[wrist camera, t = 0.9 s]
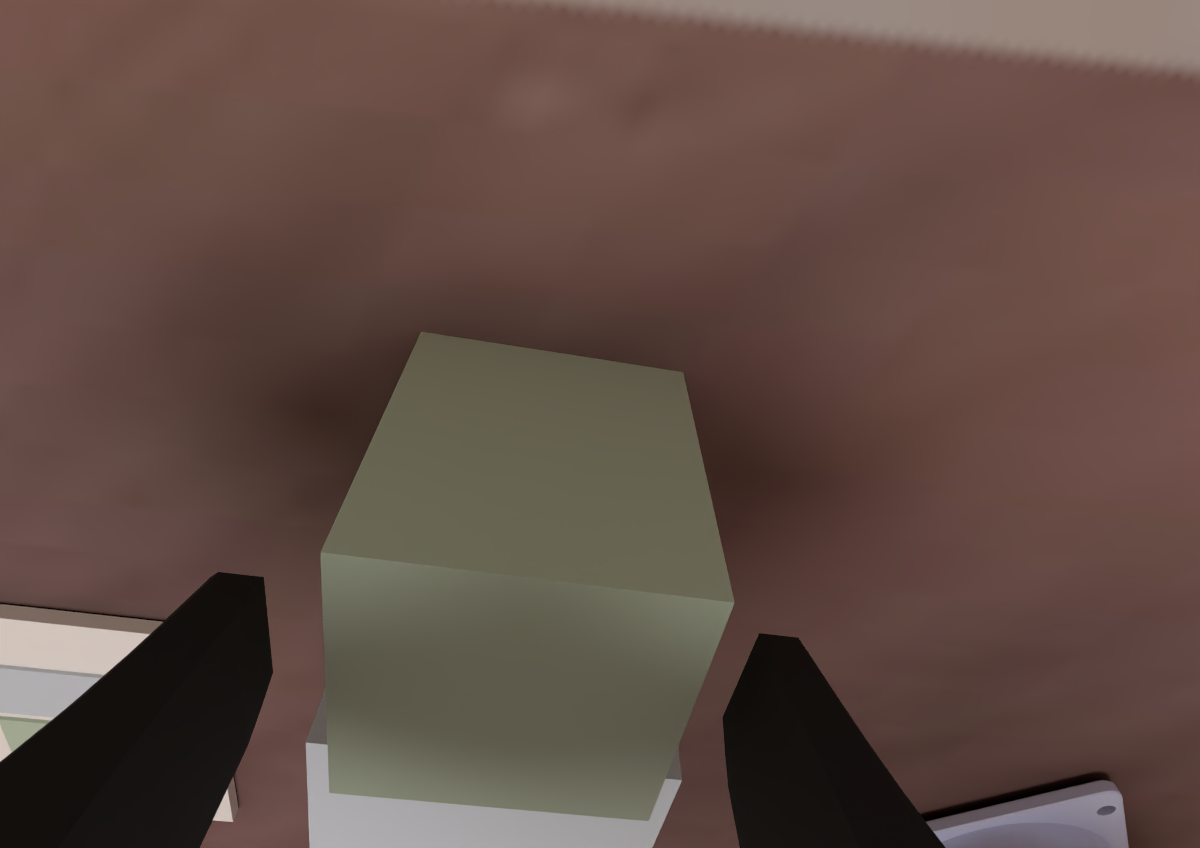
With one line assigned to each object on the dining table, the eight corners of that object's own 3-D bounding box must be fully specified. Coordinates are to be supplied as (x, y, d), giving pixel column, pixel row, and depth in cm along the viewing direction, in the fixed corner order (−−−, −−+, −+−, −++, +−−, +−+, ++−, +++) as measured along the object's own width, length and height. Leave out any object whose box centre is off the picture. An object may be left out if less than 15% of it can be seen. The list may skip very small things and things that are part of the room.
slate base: (667, 651, 19) (681, 780, 16) (606, 818, 23) (609, 944, 20) (352, 613, 18) (305, 742, 15) (349, 794, 22) (312, 923, 19)
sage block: (682, 370, 14) (735, 602, 9) (631, 560, 17) (648, 821, 12) (421, 330, 14) (320, 551, 8) (410, 531, 16) (329, 793, 11)
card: (209, 626, 18) (200, 643, 17) (238, 808, 22) (231, 825, 21) (-152, 587, 17) (-172, 603, 16) (-49, 784, 21) (-63, 801, 21)
